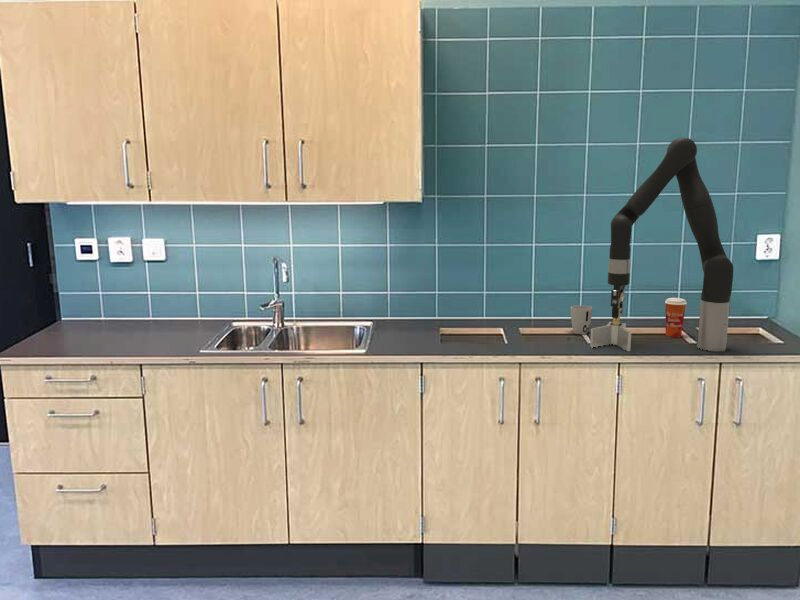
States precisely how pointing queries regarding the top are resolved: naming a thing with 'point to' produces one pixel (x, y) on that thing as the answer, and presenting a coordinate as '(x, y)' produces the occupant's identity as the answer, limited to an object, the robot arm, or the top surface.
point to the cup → (581, 318)
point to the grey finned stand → (611, 336)
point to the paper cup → (674, 316)
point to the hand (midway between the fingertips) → (617, 315)
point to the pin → (617, 319)
